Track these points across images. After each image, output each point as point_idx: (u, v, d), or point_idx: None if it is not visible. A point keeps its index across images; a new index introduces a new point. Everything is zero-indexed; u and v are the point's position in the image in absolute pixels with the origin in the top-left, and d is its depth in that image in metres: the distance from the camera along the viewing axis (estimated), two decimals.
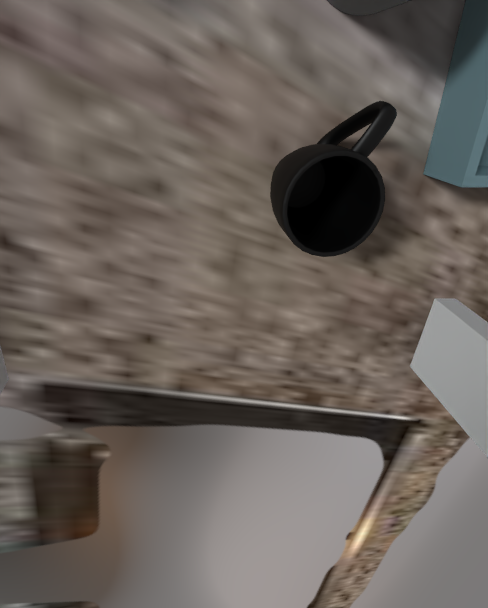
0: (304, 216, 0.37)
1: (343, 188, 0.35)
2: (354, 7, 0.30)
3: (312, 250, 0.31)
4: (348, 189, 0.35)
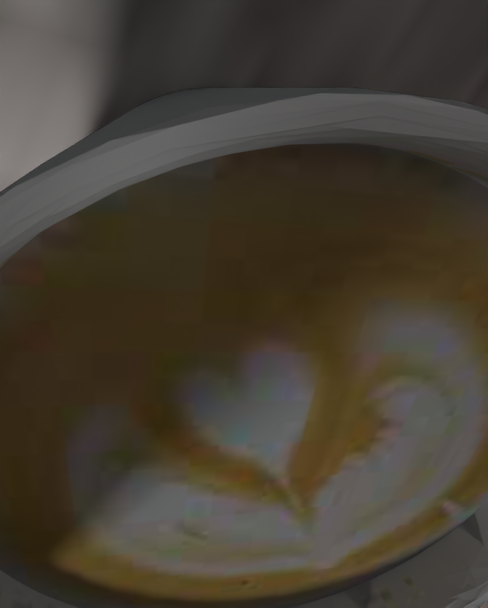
0: None
1: None
2: None
3: None
4: None
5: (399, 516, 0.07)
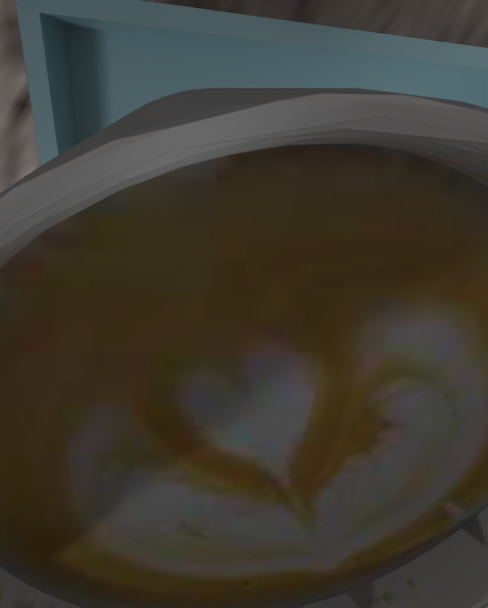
0: None
1: None
2: None
3: None
4: None
5: (401, 518, 0.07)
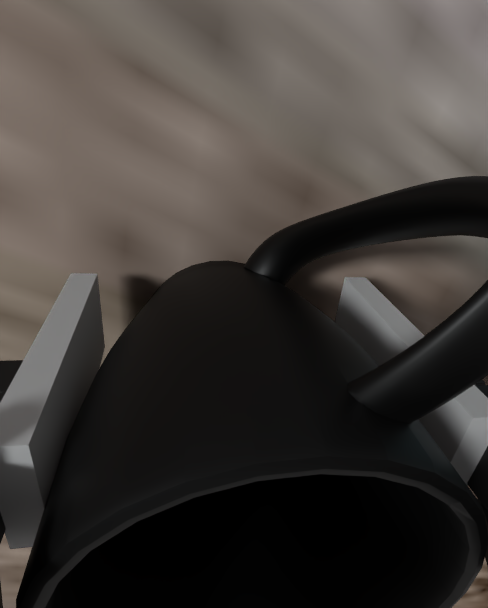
0: None
1: None
2: None
3: None
4: None
5: None
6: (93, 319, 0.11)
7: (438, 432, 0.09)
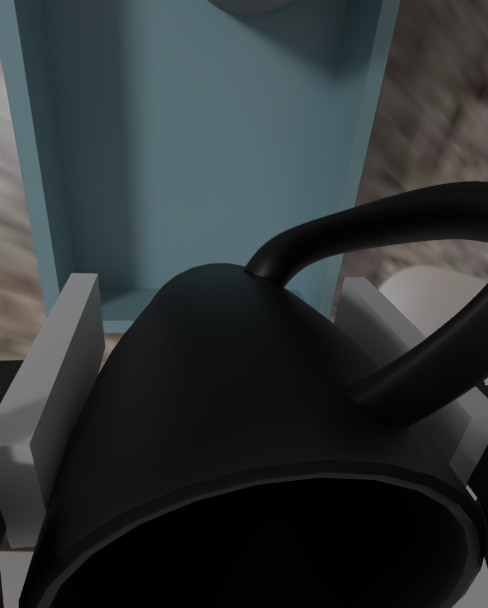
0: None
1: None
2: (228, 3, 0.21)
3: None
4: None
5: None
6: (93, 319, 0.11)
7: (437, 432, 0.09)
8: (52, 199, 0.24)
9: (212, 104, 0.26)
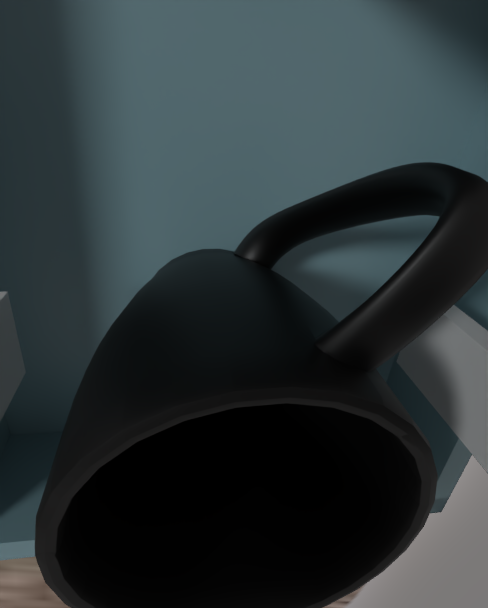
0: None
1: None
2: None
3: None
4: None
5: None
6: None
7: None
8: None
9: (252, 122, 0.13)
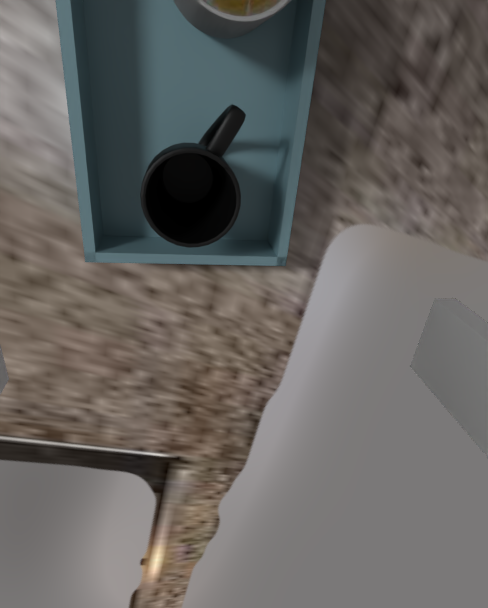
0: (190, 211, 0.39)
1: (222, 185, 0.37)
2: (209, 31, 0.32)
3: (176, 241, 0.33)
4: (224, 186, 0.37)
5: None
6: None
7: None
8: (89, 164, 0.34)
9: (200, 99, 0.37)
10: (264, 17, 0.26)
